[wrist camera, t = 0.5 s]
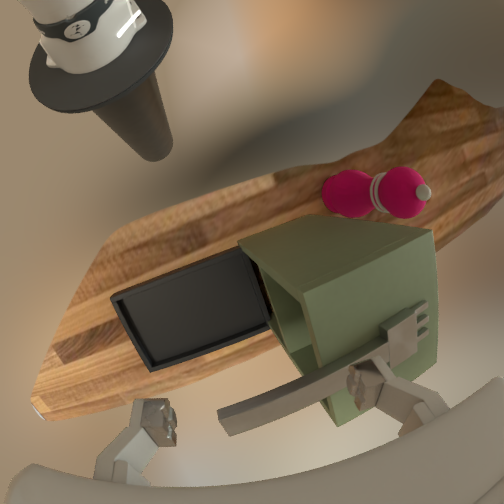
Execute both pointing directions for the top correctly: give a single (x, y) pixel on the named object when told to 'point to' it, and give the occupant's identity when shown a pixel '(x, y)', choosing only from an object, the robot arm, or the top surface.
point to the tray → (193, 309)
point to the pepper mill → (376, 193)
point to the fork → (328, 374)
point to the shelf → (345, 291)
